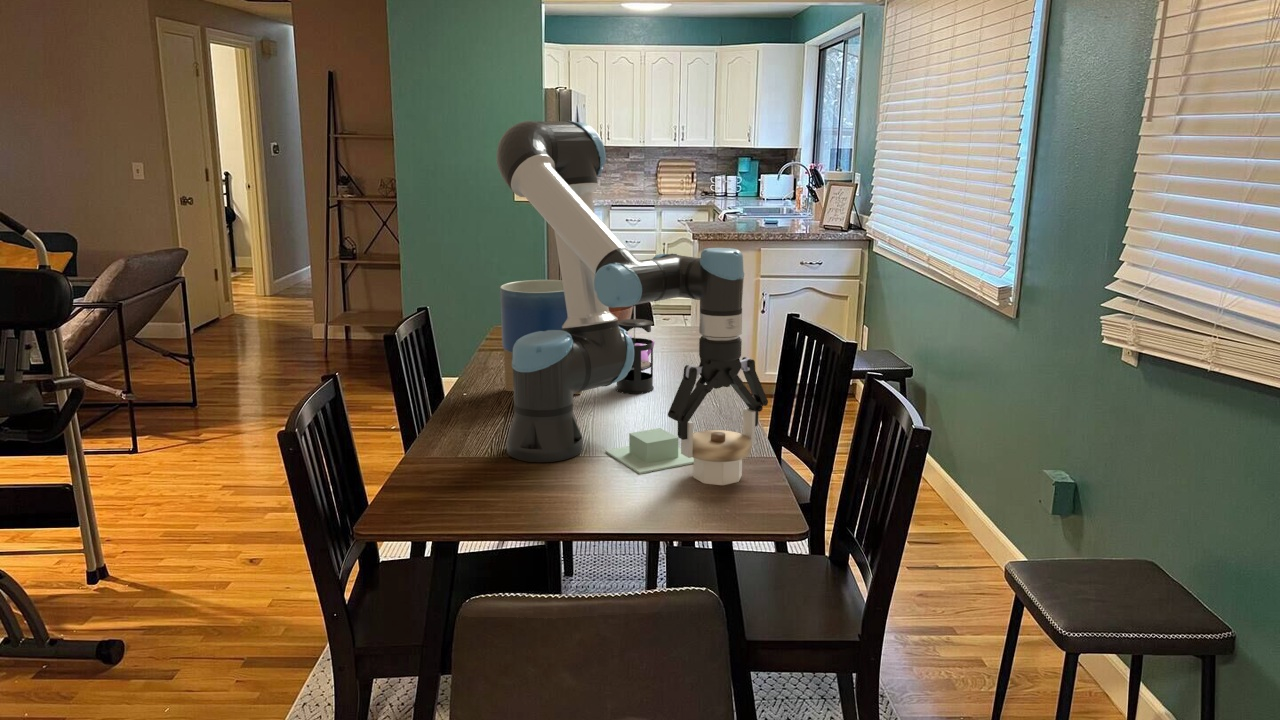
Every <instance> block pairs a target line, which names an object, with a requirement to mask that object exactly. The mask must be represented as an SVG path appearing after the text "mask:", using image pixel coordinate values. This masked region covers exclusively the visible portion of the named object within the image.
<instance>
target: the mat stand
mask: <svg viewBox="0 0 1280 720" xmlns="http://www.w3.org/2000/svg"><path fill="white" fill-rule="evenodd" d="M628 434H629V435H628V437H629V440H628V442H629V443H628V446H622V447H617V448H611V449H606V450H605V451H604V452H605V453H606V454H607V455H609V456H611V457H612V458H614V459H615V460H617V461H618V462H620V463H621V464H623V465H625V466H626V467H628V468H629V469H631V470H632V471H634V472H635V473H638V474H639V475H642V474H647V472H648V473H652V471H653V472H658V471H661V470H667V469H671V468H678V467H683V466H687V465H692V464H693V465H694V458H693V457H691V458H688V457H686V456H684V455H683V454H681V446H679V437H678V436H676V435H674V434H672V433H671V432H668V431H667V430H665V429H663V428H661V427H658V428H653V429H647V430H641V431H634V432H629V433H628Z"/></svg>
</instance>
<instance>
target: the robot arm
mask: <svg viewBox="0 0 1280 720" xmlns="http://www.w3.org/2000/svg"><path fill="white" fill-rule="evenodd" d="M606 156H607V155H606V148H605V145H604V142H603V139H602V138H601V136H600V134H599V133H598V132H597V131H596V130H595V129H594V128H593V127H592V126H591V125H588V124H587V123H584V122H578V121H577V122H576V121H572V120H566V121H563V120H561V121H560V120H559V121H555V120H554V121H545V120H544V121H540V120H539V121H536V120H525V121H521V122H518V123H516V124H513V125H512V126H511V127H510V128H508V129H507V130H506V131H505V132H504V133H503V135H502V136H501V138H500V140H499V143H498V145H497V149H496V165H497V168H498V171H499V174H500V176H501V178H502V179H503V181H504V183H505V184H506V185H507V186H508V188H509V189H510V190H511V191H512V192H513V193H514V195H516V196H518V197H520V198H526V200H527V202H528V203H530V204H531V205H532V206H533V208H534V209H535V210H536V211H537V212H538V213H539V215H541V217H542V218H543V219H544V220H545V221H546V222H547V224H548V225H550V227H551V228H552V229H553V230H554V237H555V243H556V248H557V256H558V261H559V269H560V275H561V280H562V283H563V289H564V296H565V302H566V309H567V316H568V317H567V320H566V321H565V323H564V324H563V325H562V330H547V331H538V332H534V333H530V334H527V335H525V336H523V337H521V338H519V339H518V340H517V341H516V342H515V344H514V347H513V359H512V367H513V385H514V390H513V406H514V407H513V408H514V410H513V411H514V414H513V419H512V420H511V424H510V427H509V430H508V434H507V439H506V453H507V455H508V456H510V457H511V458H513V459H516V460H518V461H523V462H530V463H552V462H561V461H564V460H568V459H569V460H570V459H572V458H574V457H576V456H578V455H580V454H581V453H582V452H583V449H584V447H583V445H584V443H583V435H582V433H581V430H580V428H579V424H578V421H577V419H576V416H575V413H574V393H577V392H582V393H583V392H586V391H589V390H593V389H597V388H601V387H608V386H611V385H612V384H615V383H617V382H618V381H620V380H622V379H624V378H625V377H626V376H627V374H628V372H629V371H630V370H631V368H632V365H633V361H634V346H633V342H632V339H631V337H630V336H628V335H629V332H628V331H626V330H624V329H623V328H620V327H619V325H618V318H617V317H615V316H614V315H613V314H611V313H610V311H609V308H608V307H612V308H615V307H630V306H633V305H636V306H637V305H642V304H646V303H651V302H658V301H664V300H670V299H675V298H676V299H677V298H685V299H691V300H697V301H699V323H698V324H699V331H698V333H699V334H700V335H701V336H700V337H699V339H698V342H699V343H698V345H699V347H698V351H699V352H698V353H699V354H698V356H699V358H700V363H699V365H698V366H691V365H689V364H686V365H685V366H684V368H683V375H682V380H681V381H680V384H679V387H678V388H677V391H676V393H675V396H674V399H673V401H672V403H671V405H670V408H669V410H668V412H667V417H668V418H670V419H672V420H674V421H676V422H677V437H678V439H680V447H681V454H683V455H684V456H686V457H688V458H691V457H692V456H693V433H694V422H693V421H690V420H691V419H692V417H693V416H694V414H695V413H696V411H697V410H698V408H699V407H700V406H701V404H702V402H703V401H704V400H705V398H706V396H707V394H709V393H711V391H713V389H715V390H716V389H717V390H718V389H720V388H722V387H724V388H729V387H730V386H731V387H732V389H733V390H734V391H735V393H737V395H738V396H739V397H740V399H741V400H742V401H743V403H744V404H745V405H746V407H744V408H743V417H742V419H743V421H742V426H743V427H742V434H743V435H745V436H747V437H749V438H750V440H751V447H752V446H755V442H756V441H755V438H756V437H755V435H756V427H758V425H759V413H760V412H762V411H763V407H764V406H768V404H769V400H768V398H767V395H766V393H765V391H764V387H763V385H762V384H761V381H760V379H759V376H758V374H757V372H756V362H755V359H752V358H751V357H750V358H749V357H746V356H743V357H742V345H743V343H742V341H743V340H742V338H741V337H740V336H741V335H742V334H743V332H742V330H743V294H744V279H745V272H744V270H745V269H744V257H743V253H742V252H741V250H739V249H737V248H732V247H731V248H730V247H726V248H725V247H708V248H704V249H703V250H701V252H700V257H696V256H695V257H693V256H688V255H687V256H686V255H681V254H680V255H679V254H677V253H658V254H656V255H655V256H653V257H652V258H649V259H648V258H647V259H638V258H636V256H635V255H634V254H633V253H632V252H631V251H630V250H629V249H628V248H627V247H626V246H625V245H624V244H623V242H622V241H621V240H620V239H619V238H618V237H617V236H616V235H615V234H614V233H613V231H611V230H610V228H608V226H607V225H606V224H605V223H604V221H602V220H601V219H600V217H599V216H598V215H597V214H596V213H595V207H594V201H593V194H594V191H596V189H597V188H598V187H599V183H598V177H599V176H600V175H601V174H602V173H603V171H604V167H603V166H604V165H606ZM633 307H634V306H633ZM741 357H742V359H741ZM741 371H742V373H743V375H744V378H745V380H746V384H747V385H748V387H749V389H748V388H747V386H746V385H745V384H744V381H743V380H742V379H741V378H740V376H739V375H738V374H739V373H740V372H741Z"/></svg>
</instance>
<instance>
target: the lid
mask: <svg viewBox="0 0 1280 720" xmlns="http://www.w3.org/2000/svg"><path fill="white" fill-rule="evenodd" d="M751 453H752V446H751V440H750V438H749V437H747V436H745V435H743V433H741V432H740V433H739V432H736V431H730V430H723V429H711V430H709V429H708V430H701V431H697V432H693V456H692V457H693V458H696V459H699V460H704V461H711V462H730V461H737V460H741V459H742V460H743V459H746V458H747V457H749V456H750V455H751Z"/></svg>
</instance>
